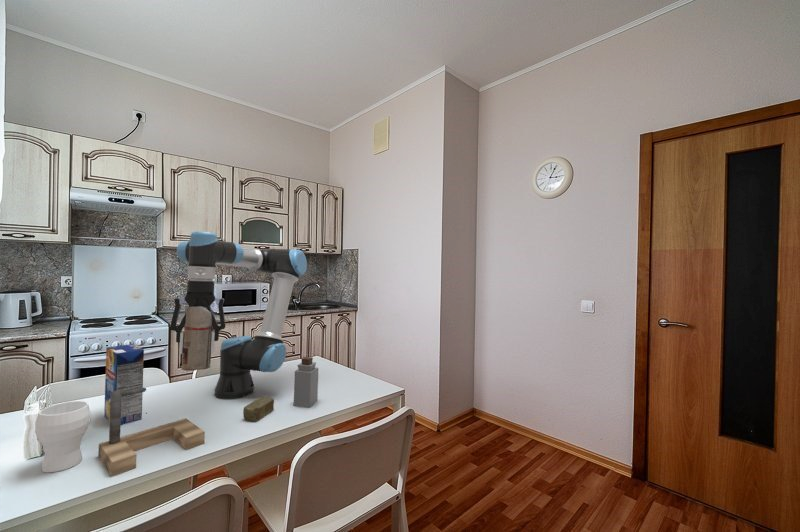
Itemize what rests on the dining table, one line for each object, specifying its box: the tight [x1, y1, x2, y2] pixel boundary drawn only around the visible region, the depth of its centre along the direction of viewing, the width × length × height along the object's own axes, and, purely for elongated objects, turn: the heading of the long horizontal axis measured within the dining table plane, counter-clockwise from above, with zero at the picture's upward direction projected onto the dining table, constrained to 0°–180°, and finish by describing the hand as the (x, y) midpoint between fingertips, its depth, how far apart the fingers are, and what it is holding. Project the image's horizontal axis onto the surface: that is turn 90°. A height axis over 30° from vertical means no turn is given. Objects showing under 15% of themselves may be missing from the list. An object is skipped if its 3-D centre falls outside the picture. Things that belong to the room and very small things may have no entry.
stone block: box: [242, 396, 275, 422], centre depth 126 cm, size 6×12×5 cm, turn 168°
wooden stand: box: [98, 387, 206, 477], centre depth 101 cm, size 14×22×18 cm, turn 142°
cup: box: [34, 400, 92, 473], centre depth 93 cm, size 11×11×15 cm
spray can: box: [180, 304, 214, 372], centre depth 111 cm, size 8×8×20 cm
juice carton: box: [103, 343, 145, 426], centre depth 120 cm, size 12×8×24 cm, turn 53°
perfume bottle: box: [293, 356, 319, 409], centre depth 138 cm, size 7×7×18 cm
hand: (197, 351), depth 111 cm, fingers closed on spray can, 8 cm apart
